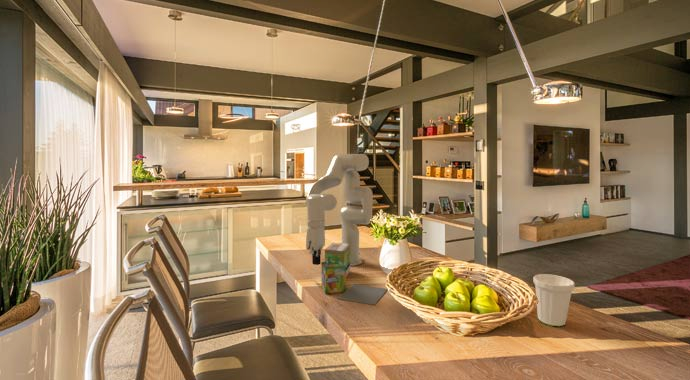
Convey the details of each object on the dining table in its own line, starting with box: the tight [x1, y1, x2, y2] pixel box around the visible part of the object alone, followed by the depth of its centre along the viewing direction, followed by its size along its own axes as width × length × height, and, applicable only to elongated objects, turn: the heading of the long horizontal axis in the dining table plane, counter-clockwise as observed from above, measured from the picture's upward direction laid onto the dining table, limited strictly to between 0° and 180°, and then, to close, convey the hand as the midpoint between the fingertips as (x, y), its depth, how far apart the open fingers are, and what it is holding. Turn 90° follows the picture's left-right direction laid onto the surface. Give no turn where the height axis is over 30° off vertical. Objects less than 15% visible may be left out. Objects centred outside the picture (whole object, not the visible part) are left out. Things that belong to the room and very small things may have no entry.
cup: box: [532, 273, 576, 327], centre depth 124 cm, size 12×12×15 cm
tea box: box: [324, 242, 351, 277], centre depth 173 cm, size 15×10×15 cm
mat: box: [337, 283, 388, 306], centre depth 150 cm, size 18×16×1 cm
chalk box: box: [321, 256, 347, 295], centre depth 155 cm, size 9×9×15 cm
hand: (316, 264), depth 158 cm, fingers closed
